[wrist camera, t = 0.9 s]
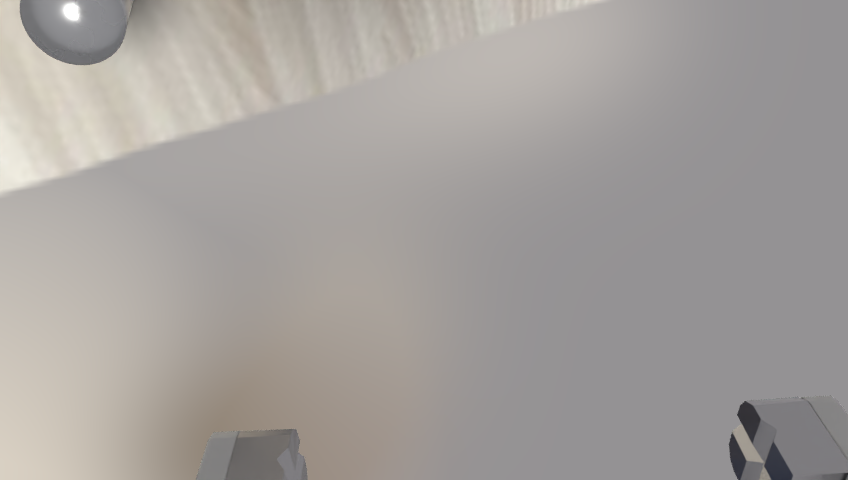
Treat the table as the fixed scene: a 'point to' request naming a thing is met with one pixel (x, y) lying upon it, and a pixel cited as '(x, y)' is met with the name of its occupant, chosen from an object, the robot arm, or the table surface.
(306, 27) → the table surface
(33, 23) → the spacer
